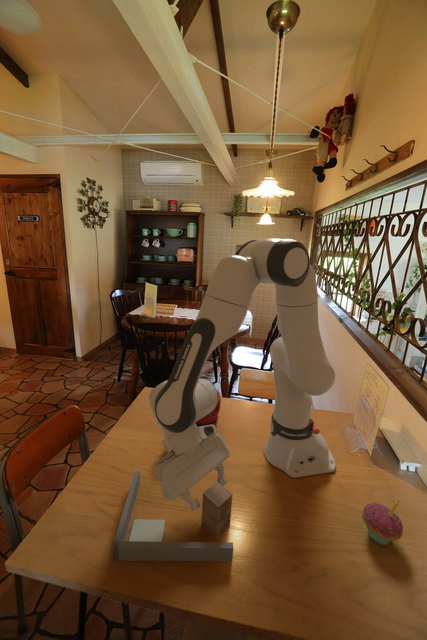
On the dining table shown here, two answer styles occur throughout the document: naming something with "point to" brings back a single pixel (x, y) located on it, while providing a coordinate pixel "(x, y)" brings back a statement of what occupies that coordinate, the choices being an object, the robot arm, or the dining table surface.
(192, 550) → the grey l-shaped bracket
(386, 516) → the cupcake
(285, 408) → the robot arm
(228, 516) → the walnut block
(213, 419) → the plant pot
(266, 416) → the dining table surface
